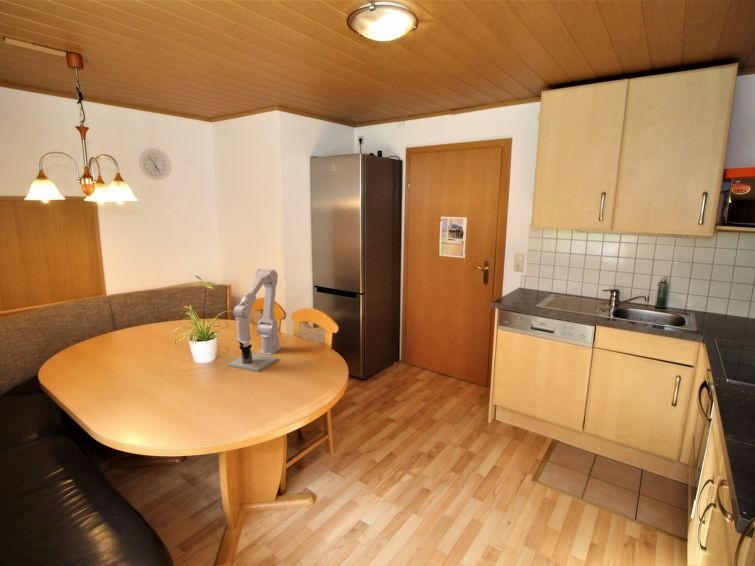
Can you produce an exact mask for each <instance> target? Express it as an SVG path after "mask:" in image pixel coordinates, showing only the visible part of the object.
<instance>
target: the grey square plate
mask: <svg viewBox="0 0 755 566" xmlns="http://www.w3.org/2000/svg"><path fill="white" fill-rule="evenodd" d="M278 360H279V357H277V356H271V355H267V354H261V353H252V363H250V364H243V363H242V356H241V357H239V358H236V359H235V360H233V361H231V362H229V363H228V364H227V367H230V368H234V369H239V370H240V369H241V370H245V371H251V372H255V373H256V372H257V373H259V372H261V371H263V370H264V369H266V368H267V367H269V366H271V365H272V364H274V363H275V362H278Z"/></svg>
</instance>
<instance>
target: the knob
mask: <svg viewBox="0 0 755 566" xmlns="http://www.w3.org/2000/svg"><path fill="white" fill-rule="evenodd" d="M241 357H242V363H243V364H250V363H252V350H251V349H250V354H249V359H244V357H243V353H242V352H241Z"/></svg>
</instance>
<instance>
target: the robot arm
mask: <svg viewBox="0 0 755 566" xmlns="http://www.w3.org/2000/svg"><path fill="white" fill-rule="evenodd" d="M278 276H279V274H278V273H277V271H276V269H261V268H258V269H257V270H256V271H255V274H254V280H253V283H252V284H251V287H250V289H249V291H248V292H245V293H244V295H243V297H242V298H241V301H240V302H239V304H237V305H235V306H234V307H233V311H232V314H233V316H234V319H235V321H236V330H237V338H235V342H238V343H239V347H238V348H239V349H240V350H241V354H242V353H243V357H244V359H249V354H250V350H251V348H252V346H253V345H252V344H250V341H251V340H252V337H251V329H250V316H251V315H252V314H251V313H252V308H253V306H254V303H255V301H256V300H257V296H256V295H257V294H258V293H259V291H260V289H261V288H262V287H264V288H265V292H264V301H263V313H262V317H261V318H260V319H259V320H258V324H257V327H256V331H257V334H258V335H259V337H260V342H261V344H260V345H261V350H259V351H258V353H257V354H261V355H267V356H271V355H273V354H276V353H277V352H278V351H280V350H281V349H282V348H281V347H280V345H281V344H280V337H279V335H278V331H279V327H278V326H279V325H278V321H277V320H276V319H275V318H274V313H275V312H274V311H275V301H276V293H277V292H276V291H277V289H276V288H277V285H278V279H279V277H278Z"/></svg>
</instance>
